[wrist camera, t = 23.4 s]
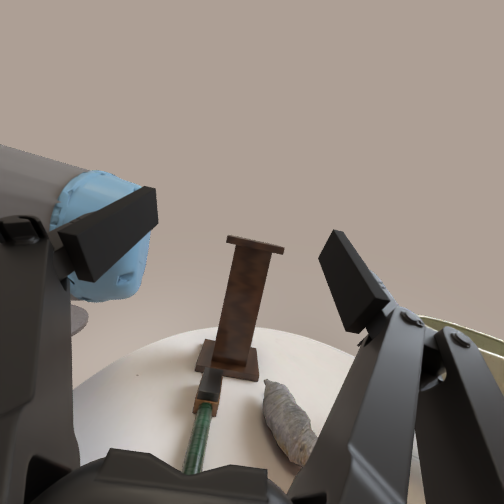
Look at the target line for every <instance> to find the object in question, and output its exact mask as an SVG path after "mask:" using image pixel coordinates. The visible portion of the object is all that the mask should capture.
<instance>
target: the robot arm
mask: <svg viewBox="0 0 504 504" xmlns="http://www.w3.org/2000/svg"><path fill="white" fill-rule="evenodd" d="M157 224H158V211H157V200H156V189H155V188H151V187H146V186H144V187H141V186H139V185H137V184H135V183H131V182H128V181H125V180H122V179H120V178H118V177H117V176H115V175H113V174H110V173H107V172H104V171H99V170H92V171H90V170H86V169H83V168H79V167H76V166H72V165H69V164H66V163H62V162H59V161H55V160H52V159H49V158H45V157H42V156H38V155H35V154H31V153H28V152H25V151H21V150H17V149H14V148H11V147H7V146H3V145H1V144H0V504H407V495H408V485H409V476H410V467H411V458H412V449H413V439H414V430H415V433H416V440H417V447H418V454H419V460H420V467H421V474H422V481H423V487H424V494H425V501H426V504H504V396H503V394H502V392H501V390H500V388H499V386H498V384H497V382H496V381H495V379H494V377H493V375H492V373H491V371H490V369H489V367H488V365H487V364H486V362H485V360H484V358H483V356H482V354H481V352H480V350H479V349H478V347H477V346H476V344H475V343H474V342H473V341H472V340H471V339H470V338H469V337H468V336H467V335H465V334H464V333H462V332H460V331H458V330H456V329H454V328H452V327H446V326H445V327H444V328H442V329H441V330H440V331H438V332H437V331H435V330H433V329H431V328H428V327H426V326H425V324H424V322H423V321H422V320H421V319H420V318H419V317H418V316H417V315H416V314H415V313H413V312H412V311H410V310H408V309H406V308H404V307H400V306H399V305H398V304H397V302H396V301H395V300H394V298H393V297H392V295H391V294H390V292H389V291H388V290H387V289H386V287H385V286H384V284H383V283H382V281H381V280H380V279H379V277H378V276H377V275H375V274H374V273H373V272H372V271H371V270H369V269H368V267H367V266H366V264H365V263H364V261H363V260H362V259H361V257H360V256H359V254H358V253H357V251H356V250H355V248H354V247H353V245H352V244H351V243H350V241H349V240H348V238H347V237H346V235H345V234H344V232H342V231H338V230H333V231H332V233H331V235H330V237H329V238H328V241H327V242H326V244H325V246H324V248H323V250H322V252H321V254H320V256H319V258H318V259H319V262H320V264H321V267H322V270H323V272H324V275H325V278H326V281H327V283H328V286H329V288H330V291H331V294H332V297H333V299H334V302H335V304H336V307H337V310H338V312H339V315H340V317H341V320H342V323H343V326H344V328H345V331H346V332H352V333H357V334H359V333H360V332H361V331H362V330H363V329H364V328H365V327H366V329H367V332H368V335H367V336H366V337H365V338H364V339H363V340H362V341H361V342H360V343H359V344H358V345H357V346H358V347H359V346H360V345H361V347H360V349H359V351H358V353H357V355H356V357H355V359H354V362H353V364H352V366H351V368H350V370H349V372H348V375H347V377H346V379H345V381H344V383H343V385H342V387H341V390H340V392H339V394H338V396H337V398H336V400H335V403H334V405H333V407H332V409H331V411H330V413H329V416H328V418H327V420H326V422H325V424H324V426H323V428H322V431H321V433H320V435H319V437H318V439H317V441H316V444H315V446H314V448H313V450H312V452H311V454H310V456H309V459H308V460H307V462H306V464H305V465H304V467H303V468H302V469H301V471H300V472H299V473H298V474H297V476H296V478H295V479H294V481H293V483H292V485H291V486H290V488H289V490H288V493H287V495H286V494H285V493H284V492H283V491H282V490H281V489H280V488H279V487H278V486H277V485H276V484H275V483H273V482H272V481H271V480H269V479H268V478H267V469H260V468H253V467H245V466H238V465H231V464H230V465H227V466H223V467H219V468H215V469H211V470H207V471H203V472H200V473H196V474H192V475H186V474H184V473H182V472H180V471H179V470H177V469H175V468H174V467H172V466H170V465H169V464H167V463H165V462H164V461H162V460H160V459H159V458H157V457H155V456H154V455H152V454H150V453H143V452H136V451H129V450H121V449H114V448H110V449H109V451H108V453H107V456H106V457H104V458H100V459H98V460H95V461H92V462H90V463H87V464H85V465H83V466H81V467H80V454H79V447H78V443H77V440H76V437H75V434H74V428H73V391H72V349H71V348H72V347H71V303H70V302H71V301H70V300H85V301H87V302H104V301H108V300H116V299H125V298H129V297H131V296H132V295H134V294H135V293H136V292H137V291H138V289H139V287H140V285H141V279H142V276H143V273H144V270H145V265H146V259H147V254H148V247H149V240H150V232H151V230H152V229H153V228H154V227H155V226H156V225H157ZM444 373H446V378H445V380H444V381H443V378H442V374H444Z"/></svg>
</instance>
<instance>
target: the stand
mask: <svg viewBox="0 0 504 504" xmlns="http://www.w3.org/2000/svg"><path fill="white" fill-rule="evenodd" d="M226 243H231V244H235V245H236V247H235V252H234V256H233V261H232V266H231V271H230V275H229V280H228V285H227V290H226V295H225V299H224V303H223V308H222V313H221V318H220V322H219V327H218V332H217V336H216V341H213V340H208V339H205V341H204V344H203V347H202V349H201V352H200V355H199V357H198V360H197V363H196V366H195V371H198V372H204V369H205V367H208V368H214V369H220V370H223V375H222V376H227V377H233V378H239V379H245V380H251V381H257V382H258V379H259V369H258V360H257V351H256V348H252V347H250V346H251V342H252V338H253V333H254V329H255V325H256V320H257V316H258V312H259V307H260V302H261V298H262V294H263V290H264V285H265V281H266V276H267V272H268V268H269V263H270V259H271V255H272V253H277V254H282V255H283V253H284V248H283V247H281V246H277V245H274V244H269V243H264V242H260V241H255V240H251V239H246V238H242V237H237V236H232V235H228V236H227V241H226Z"/></svg>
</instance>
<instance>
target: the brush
mask: <svg viewBox="0 0 504 504" xmlns="http://www.w3.org/2000/svg"><path fill="white" fill-rule="evenodd" d="M222 375H223V370H220V369H214V368H208V367H205V369H204V373H203V375H202V378H201V381H200V385H199V388H198V392H197V395H196V398H195V403H194V407H193V412H192V413H196V414H197V415H196V418H195V422H194V426H193V430H192V434H191V437H190V441H189V445H188V449H187V453H186V456H185V460H184V464H183V468H182V473H184V474H186V475H192V474H196V473H200V472H202V467H203V461H204V455H205V450H206V444H207V439H208V433H209V427H210V422H211V416H215V417H216V414H217V410H218V405H219V399H220V392H221V385H222V379H223V377H222Z"/></svg>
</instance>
